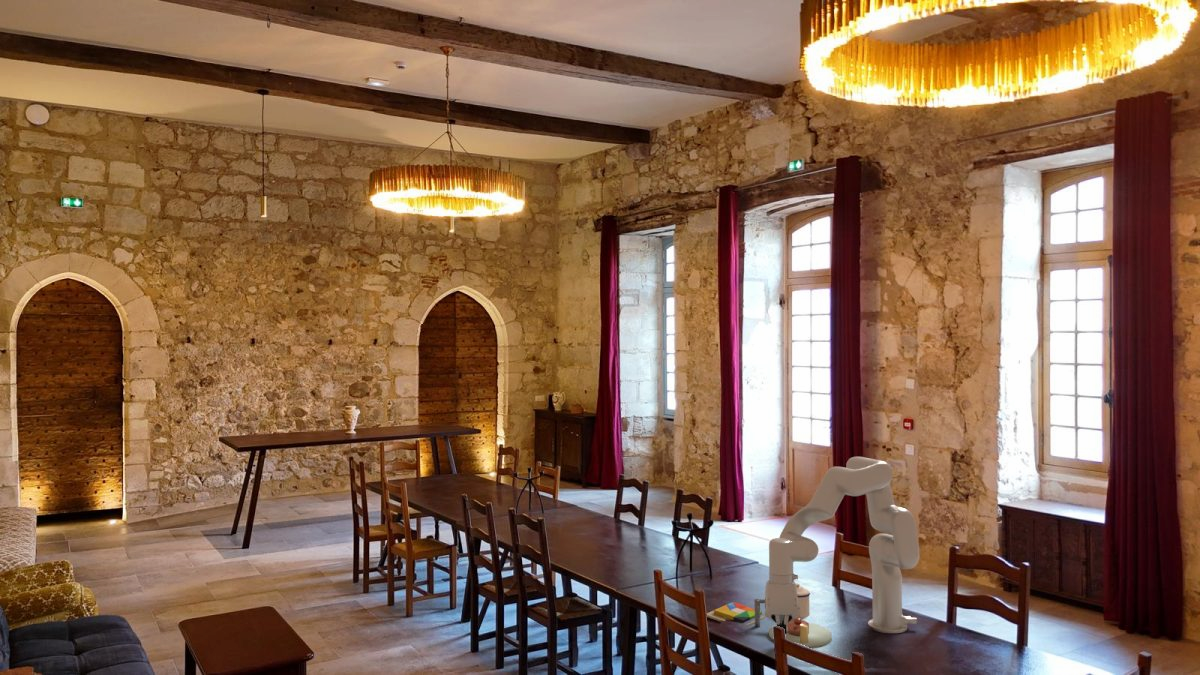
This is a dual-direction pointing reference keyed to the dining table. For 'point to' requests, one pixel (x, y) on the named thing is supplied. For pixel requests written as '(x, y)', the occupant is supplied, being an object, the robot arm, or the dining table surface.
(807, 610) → the teacup with lid
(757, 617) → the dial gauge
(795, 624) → the cover
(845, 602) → the dining table surface
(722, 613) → the wooden puzzle
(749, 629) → the dining table surface
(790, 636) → the turntable
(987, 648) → the dining table surface
